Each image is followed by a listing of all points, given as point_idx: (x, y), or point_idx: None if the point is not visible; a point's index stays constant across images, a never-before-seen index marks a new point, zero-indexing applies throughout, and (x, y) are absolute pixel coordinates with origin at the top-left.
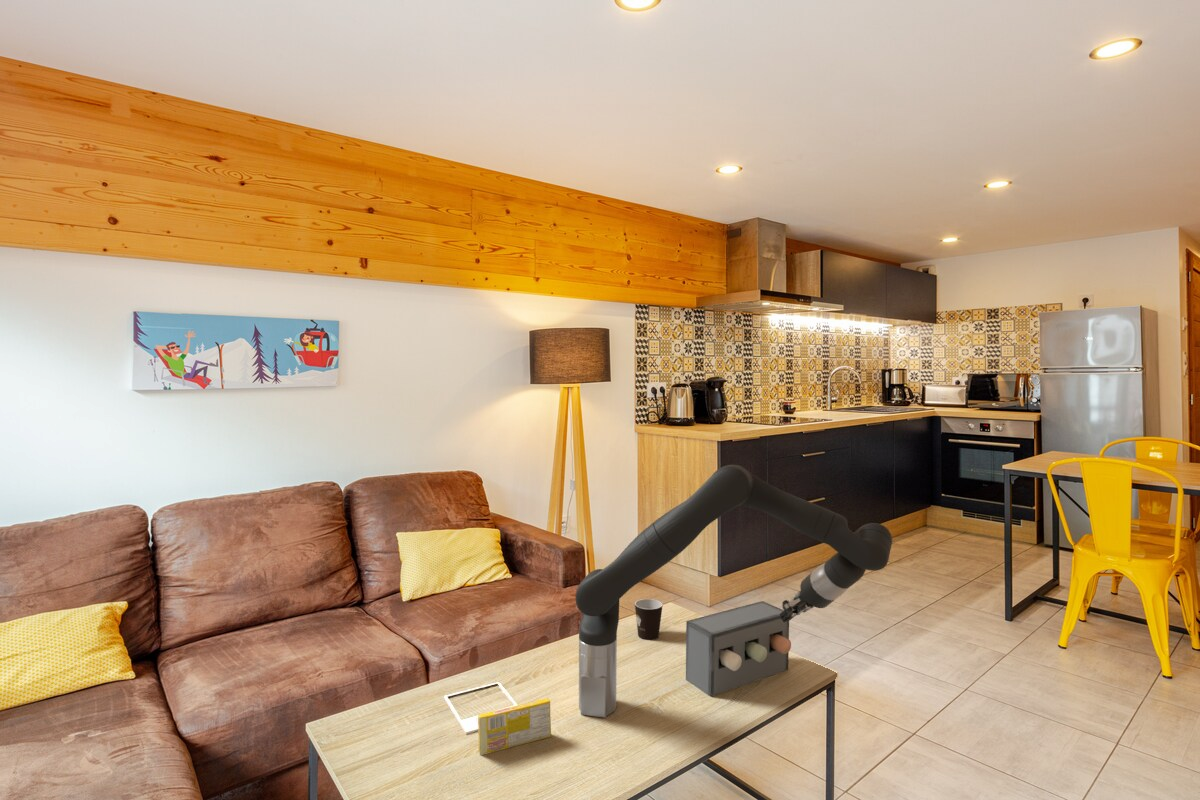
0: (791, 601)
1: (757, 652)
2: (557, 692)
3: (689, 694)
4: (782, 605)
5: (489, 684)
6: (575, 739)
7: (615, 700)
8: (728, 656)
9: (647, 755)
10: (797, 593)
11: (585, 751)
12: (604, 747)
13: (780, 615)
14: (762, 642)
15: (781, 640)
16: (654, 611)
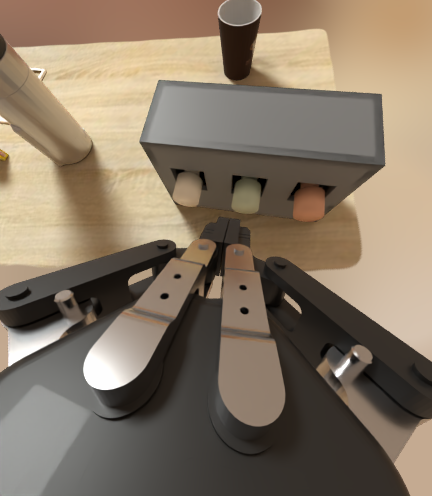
0: (9, 350)
1: (235, 203)
2: (69, 108)
3: (161, 185)
4: (112, 254)
5: (36, 68)
6: (15, 176)
7: (71, 154)
8: (176, 187)
9: (33, 236)
10: (95, 349)
11: (4, 195)
12: (20, 201)
13: (208, 225)
14: (275, 186)
15: (305, 205)
16: (232, 31)
